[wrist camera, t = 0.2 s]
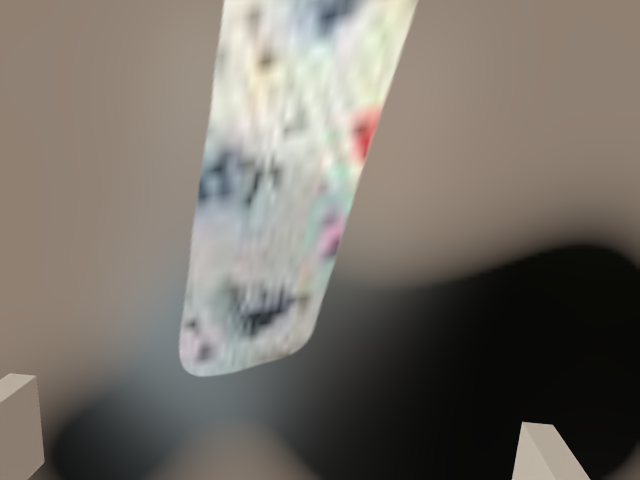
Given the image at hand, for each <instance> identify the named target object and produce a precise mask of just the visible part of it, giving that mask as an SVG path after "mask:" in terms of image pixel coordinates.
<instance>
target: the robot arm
mask: <svg viewBox="0 0 640 480" xmlns="http://www.w3.org/2000/svg"><path fill="white" fill-rule="evenodd" d="M43 463H44V453H43V442H42V431H41V421H40V410H39V400H38V388H37V379H36V376H31V375H21V374H11V373H10V374H8V375H7V376H6V377H4V378H3V379H1V380H0V480H28V478H29V477H30V476H31V475H32V474H33V473H34V472H35V471H36V470H37V469H38V468H39V467H40V466H41V465H42V464H43ZM512 480H590V479H589V477H588V476H587V474H586V473H585V472H584V470H583V469H582V467H581V466H580V464H579V463H578V461H577V460H576V458H575V457H574V455H573V454H572V452H571V451H570V450H569V448H568V447H567V445H566V444H565V442H564V441H563V439H562V438H561V436H560V435H559V433H558V432H557V430H556V429H555V428H554V426H553V425H546V424H536V423H525V422H523V423H522V427H521V433H520V439H519V444H518V450H517V456H516V461H515V467H514V473H513V478H512Z"/></svg>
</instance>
